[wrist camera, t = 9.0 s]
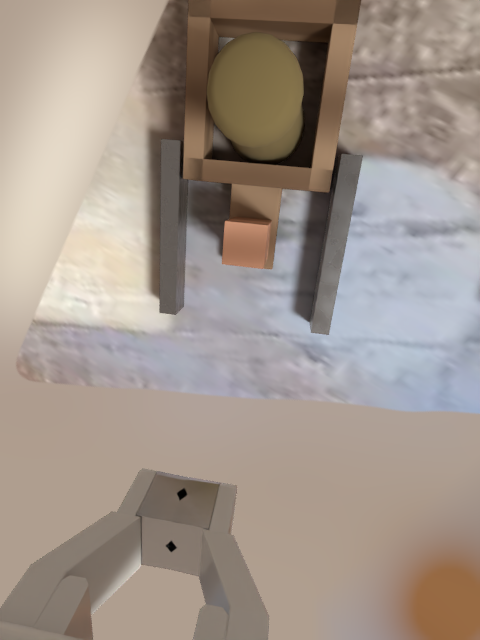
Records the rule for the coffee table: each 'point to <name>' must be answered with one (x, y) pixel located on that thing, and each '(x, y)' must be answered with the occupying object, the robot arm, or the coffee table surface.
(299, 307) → the coffee table surface
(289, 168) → the frame
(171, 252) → the lane rails
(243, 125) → the cork
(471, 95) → the coffee table surface
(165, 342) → the coffee table surface
